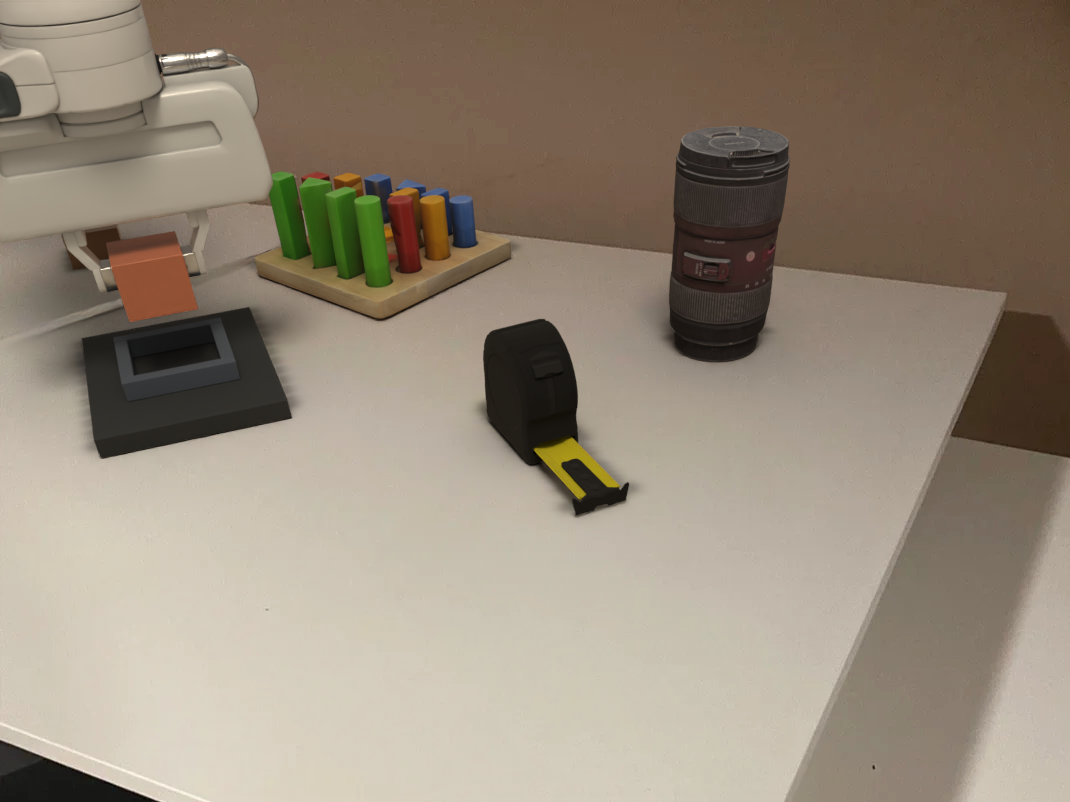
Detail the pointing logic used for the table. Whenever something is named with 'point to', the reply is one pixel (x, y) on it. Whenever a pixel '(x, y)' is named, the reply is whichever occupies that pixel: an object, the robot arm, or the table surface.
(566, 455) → the tape measure
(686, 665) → the table surface
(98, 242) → the brown block
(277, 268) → the peg board
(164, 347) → the black socket base
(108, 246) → the orange block
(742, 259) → the camera lens
